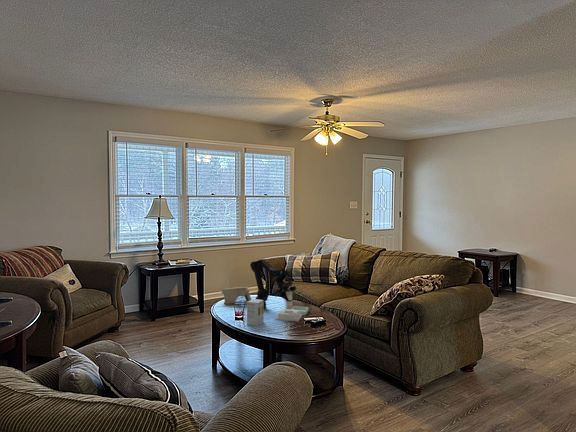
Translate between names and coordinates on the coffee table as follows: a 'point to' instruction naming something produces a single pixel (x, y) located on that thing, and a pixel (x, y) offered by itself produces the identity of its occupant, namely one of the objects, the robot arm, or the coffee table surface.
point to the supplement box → (255, 312)
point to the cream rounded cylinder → (289, 303)
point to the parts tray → (301, 310)
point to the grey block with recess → (288, 315)
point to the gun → (235, 295)
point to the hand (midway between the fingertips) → (290, 300)
